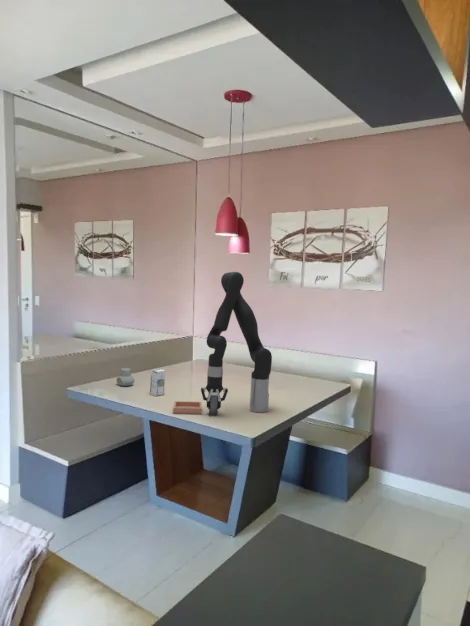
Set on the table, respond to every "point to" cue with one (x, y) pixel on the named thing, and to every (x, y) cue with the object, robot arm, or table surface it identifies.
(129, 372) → the air freshener
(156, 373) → the syrup box
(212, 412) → the shaker
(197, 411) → the tray
